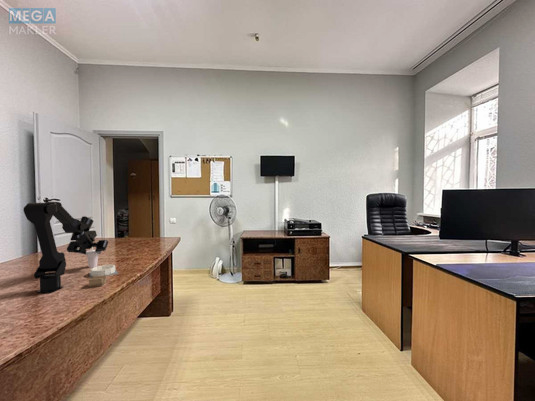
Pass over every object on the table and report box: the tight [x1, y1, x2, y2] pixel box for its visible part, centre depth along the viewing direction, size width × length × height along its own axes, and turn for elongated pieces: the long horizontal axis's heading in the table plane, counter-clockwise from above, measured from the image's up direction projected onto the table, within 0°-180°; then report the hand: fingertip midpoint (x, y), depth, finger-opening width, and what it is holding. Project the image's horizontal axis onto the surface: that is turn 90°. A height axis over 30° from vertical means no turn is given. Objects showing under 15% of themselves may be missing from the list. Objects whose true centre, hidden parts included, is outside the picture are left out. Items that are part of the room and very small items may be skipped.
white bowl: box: [89, 264, 116, 277], centre depth 126 cm, size 11×11×3 cm
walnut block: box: [88, 275, 107, 288], centre depth 109 cm, size 5×5×4 cm
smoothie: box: [86, 247, 99, 269], centre depth 138 cm, size 6×6×14 cm
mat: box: [87, 268, 119, 280], centre depth 126 cm, size 12×12×1 cm
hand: (94, 253), depth 139 cm, fingers closed on smoothie, 6 cm apart
